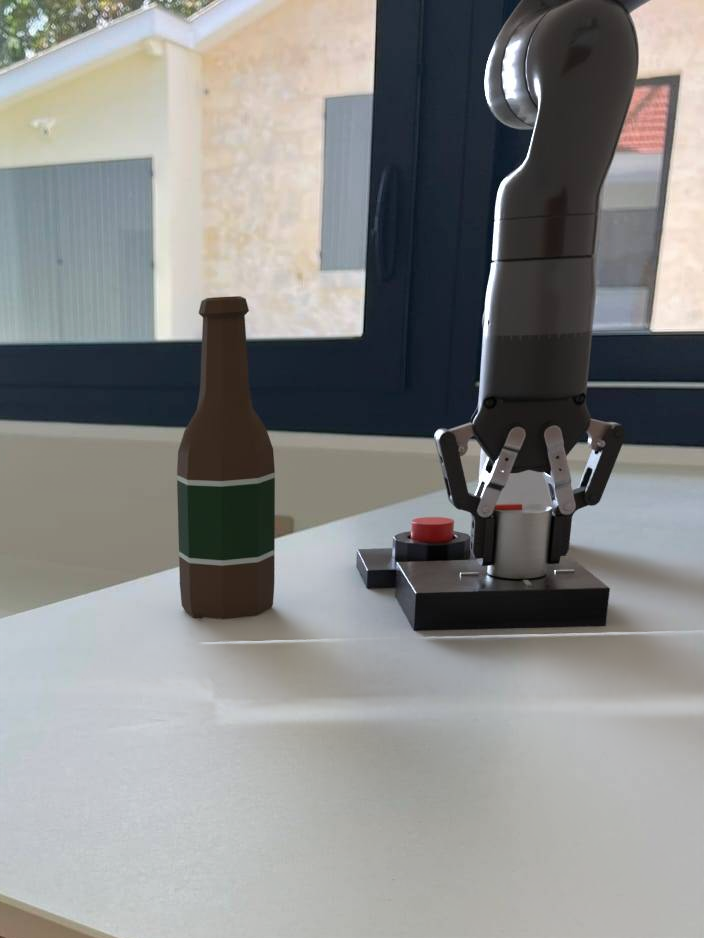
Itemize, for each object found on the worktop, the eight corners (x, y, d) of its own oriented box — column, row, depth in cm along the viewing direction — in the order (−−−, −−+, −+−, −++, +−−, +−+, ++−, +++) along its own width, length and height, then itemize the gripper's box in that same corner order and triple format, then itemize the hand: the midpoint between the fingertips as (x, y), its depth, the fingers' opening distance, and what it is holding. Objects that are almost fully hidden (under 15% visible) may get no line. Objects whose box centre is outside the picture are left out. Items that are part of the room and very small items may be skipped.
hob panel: (567, 592, 101) (571, 554, 100) (605, 627, 91) (610, 585, 90) (394, 597, 102) (396, 559, 101) (413, 632, 92) (415, 590, 91)
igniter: (488, 563, 112) (491, 525, 111) (509, 585, 104) (513, 544, 103) (356, 567, 114) (357, 529, 112) (366, 589, 105) (368, 549, 104)
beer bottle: (272, 621, 97) (273, 295, 88) (174, 621, 99) (165, 300, 89) (276, 597, 104) (277, 293, 95) (185, 598, 106) (178, 298, 96)
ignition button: (449, 536, 109) (450, 516, 108) (456, 544, 106) (457, 523, 105) (408, 537, 109) (408, 517, 109) (413, 545, 106) (414, 525, 105)
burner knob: (539, 566, 97) (545, 498, 95) (552, 578, 93) (559, 508, 91) (482, 567, 97) (487, 500, 95) (493, 580, 93) (498, 509, 91)
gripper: (444, 334, 86) (431, 576, 92) (656, 324, 84) (627, 570, 91) (428, 330, 92) (417, 556, 99) (624, 321, 91) (599, 550, 98)
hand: (518, 561), depth 95 cm, fingers closed on burner knob, 4 cm apart
